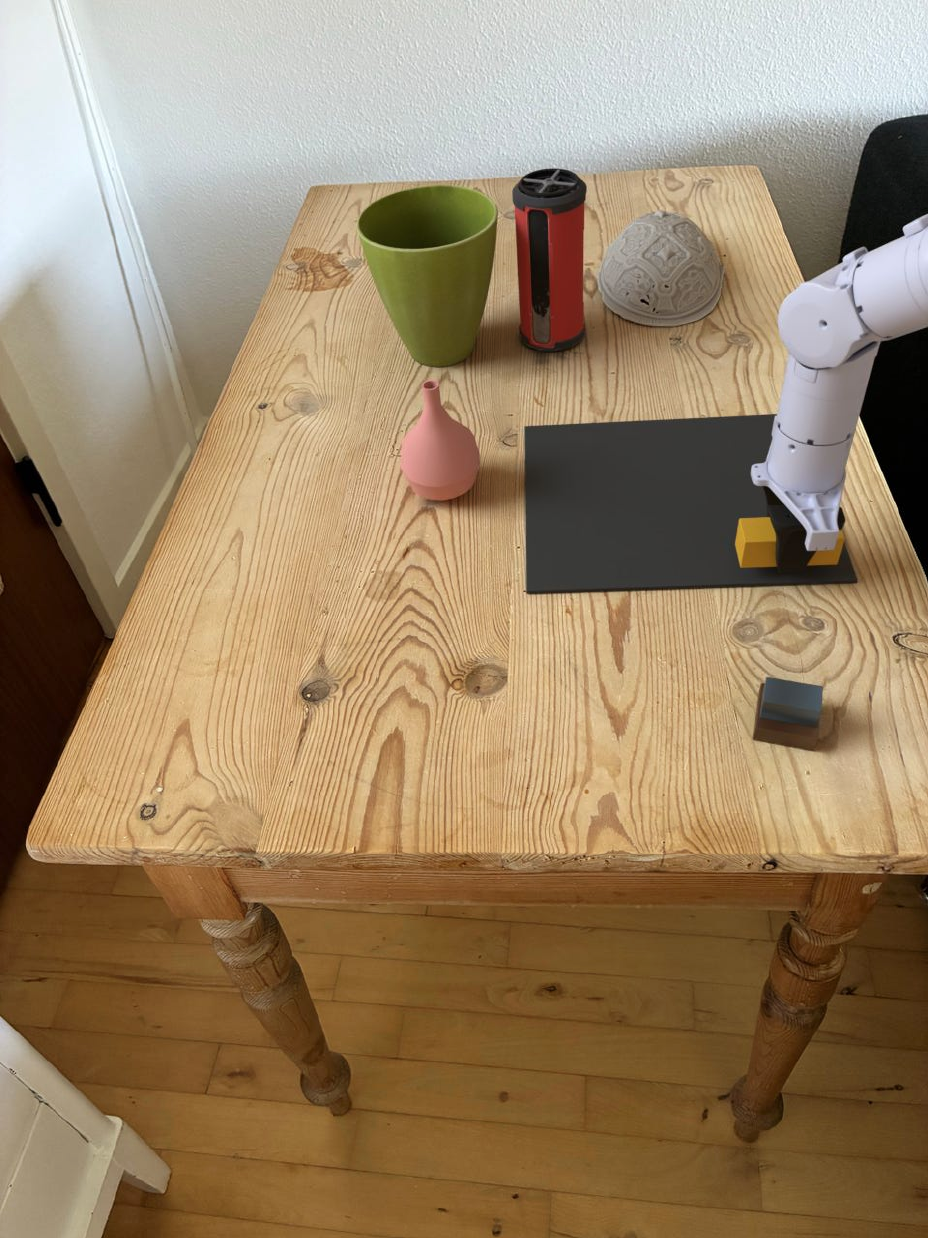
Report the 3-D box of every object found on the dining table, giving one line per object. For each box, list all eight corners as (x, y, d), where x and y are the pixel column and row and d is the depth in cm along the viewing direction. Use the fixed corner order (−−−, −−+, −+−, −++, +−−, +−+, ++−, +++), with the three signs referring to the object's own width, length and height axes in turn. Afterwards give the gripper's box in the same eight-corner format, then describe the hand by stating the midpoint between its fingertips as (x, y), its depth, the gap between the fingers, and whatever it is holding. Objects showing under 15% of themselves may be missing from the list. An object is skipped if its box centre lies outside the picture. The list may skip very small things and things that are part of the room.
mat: (799, 415, 96) (799, 412, 95) (856, 583, 80) (857, 579, 79) (524, 429, 98) (524, 425, 98) (526, 594, 82) (526, 590, 82)
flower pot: (516, 375, 105) (509, 236, 93) (385, 396, 104) (362, 259, 93) (493, 309, 115) (484, 176, 103) (373, 327, 115) (351, 196, 103)
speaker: (509, 348, 109) (500, 192, 96) (533, 315, 113) (528, 161, 100) (572, 358, 106) (571, 199, 93) (594, 324, 111) (596, 167, 98)
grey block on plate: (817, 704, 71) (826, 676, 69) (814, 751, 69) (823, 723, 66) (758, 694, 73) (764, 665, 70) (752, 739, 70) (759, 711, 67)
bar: (829, 540, 81) (836, 514, 78) (837, 564, 79) (845, 538, 76) (734, 544, 81) (739, 517, 79) (740, 568, 79) (745, 542, 77)
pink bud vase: (390, 501, 92) (370, 397, 83) (431, 457, 96) (416, 354, 88) (457, 523, 89) (445, 418, 80) (496, 476, 93) (488, 372, 84)
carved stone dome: (593, 322, 110) (600, 266, 105) (600, 234, 127) (607, 182, 122) (727, 334, 109) (740, 278, 104) (715, 243, 126) (727, 192, 121)
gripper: (745, 371, 75) (725, 501, 85) (779, 487, 66) (752, 618, 76) (835, 366, 75) (804, 497, 85) (883, 483, 65) (842, 615, 75)
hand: (785, 554), depth 80 cm, fingers closed on bar, 3 cm apart
